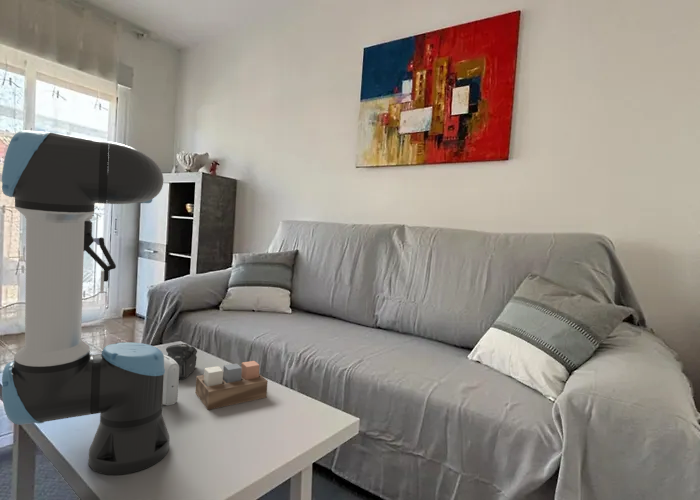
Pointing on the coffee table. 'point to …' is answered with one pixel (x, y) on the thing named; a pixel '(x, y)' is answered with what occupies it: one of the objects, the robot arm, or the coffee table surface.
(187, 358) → the camera
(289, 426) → the coffee table surface
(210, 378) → the cream short block
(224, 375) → the slate key
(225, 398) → the wooden block tray
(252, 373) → the terracotta key
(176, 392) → the photo printer
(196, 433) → the coffee table surface
